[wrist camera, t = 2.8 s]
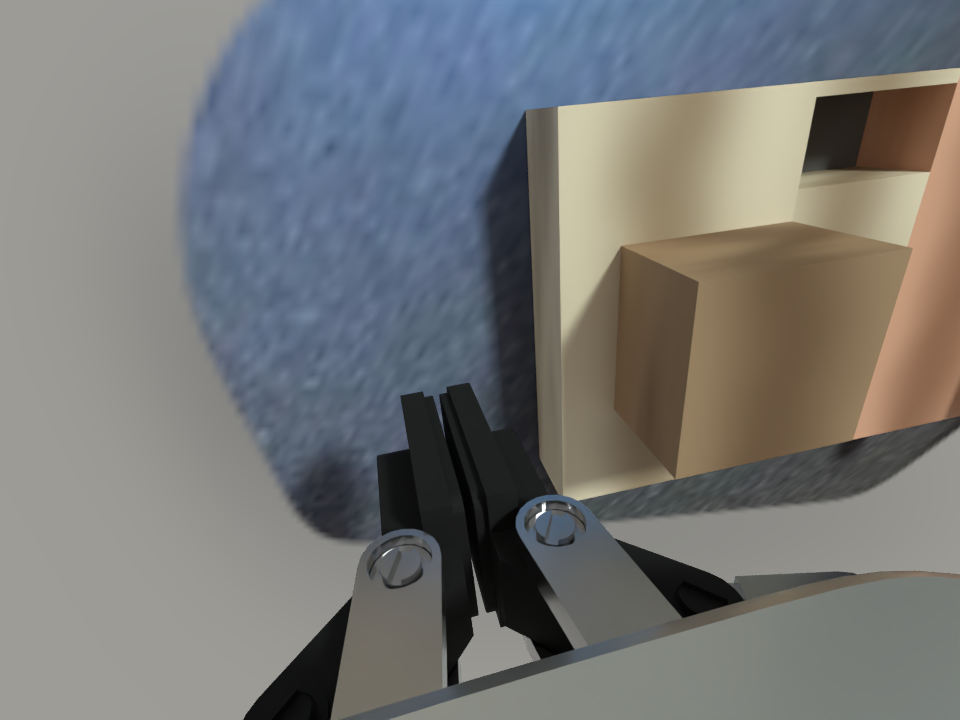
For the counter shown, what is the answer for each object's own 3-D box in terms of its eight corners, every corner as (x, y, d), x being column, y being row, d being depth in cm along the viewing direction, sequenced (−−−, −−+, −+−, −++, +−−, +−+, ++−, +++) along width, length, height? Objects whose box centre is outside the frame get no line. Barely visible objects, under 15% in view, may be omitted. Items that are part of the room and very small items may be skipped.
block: (791, 221, 16) (913, 248, 12) (760, 380, 19) (852, 440, 15) (621, 245, 15) (699, 282, 12) (614, 409, 18) (675, 479, 14)
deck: (1029, 61, 18) (1237, 40, 14) (914, 381, 25) (1033, 436, 20) (525, 110, 16) (587, 103, 11) (539, 458, 22) (582, 541, 17)
